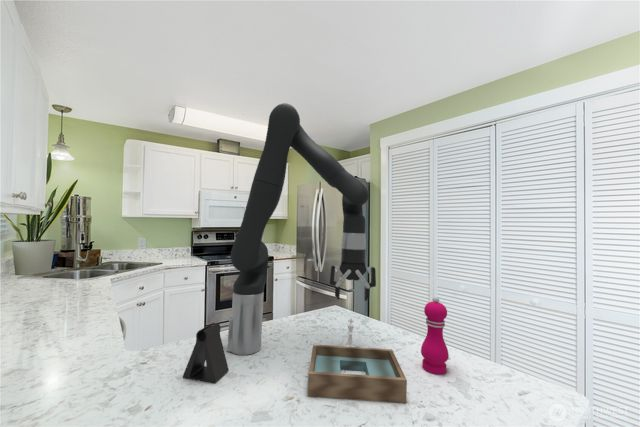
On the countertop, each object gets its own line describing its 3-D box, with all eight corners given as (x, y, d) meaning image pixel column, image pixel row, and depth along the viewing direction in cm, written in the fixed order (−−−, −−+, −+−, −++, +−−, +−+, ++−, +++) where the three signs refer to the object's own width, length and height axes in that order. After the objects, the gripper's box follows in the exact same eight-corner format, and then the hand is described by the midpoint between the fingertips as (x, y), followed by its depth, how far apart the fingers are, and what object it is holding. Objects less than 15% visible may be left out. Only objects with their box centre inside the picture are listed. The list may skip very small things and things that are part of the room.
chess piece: (357, 355, 86) (358, 322, 86) (340, 353, 87) (342, 320, 87) (358, 349, 91) (359, 317, 91) (342, 347, 92) (344, 315, 92)
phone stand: (182, 378, 70) (185, 328, 70) (197, 366, 75) (200, 320, 76) (215, 384, 68) (218, 332, 68) (228, 371, 74) (231, 324, 74)
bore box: (307, 396, 64) (308, 373, 65) (312, 362, 80) (313, 344, 81) (406, 403, 63) (406, 380, 64) (391, 367, 79) (392, 349, 79)
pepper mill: (447, 365, 82) (448, 295, 83) (449, 378, 75) (451, 301, 76) (420, 360, 84) (422, 292, 85) (420, 372, 77) (422, 297, 78)
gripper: (330, 247, 87) (329, 301, 86) (378, 249, 86) (376, 303, 85) (331, 245, 94) (329, 295, 93) (374, 247, 94) (373, 297, 93)
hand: (351, 299), depth 89 cm, fingers open, 8 cm apart
